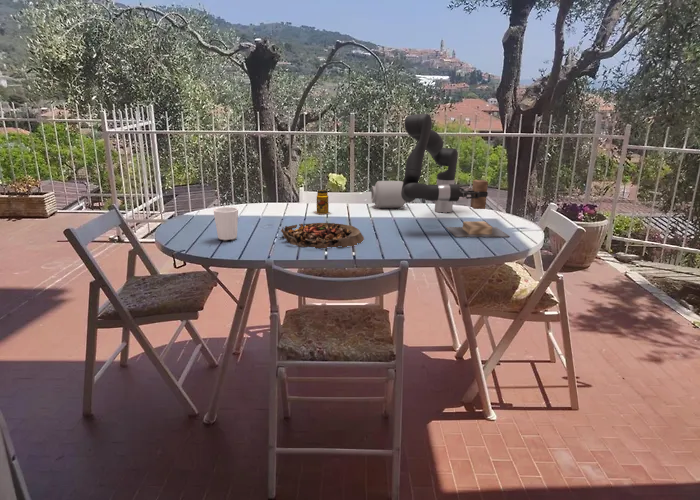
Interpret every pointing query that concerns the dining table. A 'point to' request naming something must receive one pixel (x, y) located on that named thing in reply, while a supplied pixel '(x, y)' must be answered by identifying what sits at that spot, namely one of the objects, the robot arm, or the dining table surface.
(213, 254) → the dining table surface
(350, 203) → the dining table surface
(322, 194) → the condiment
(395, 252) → the dining table surface
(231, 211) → the cup
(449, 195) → the robot arm
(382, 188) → the jar
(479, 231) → the plinth
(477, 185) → the pillar
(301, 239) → the food dish
